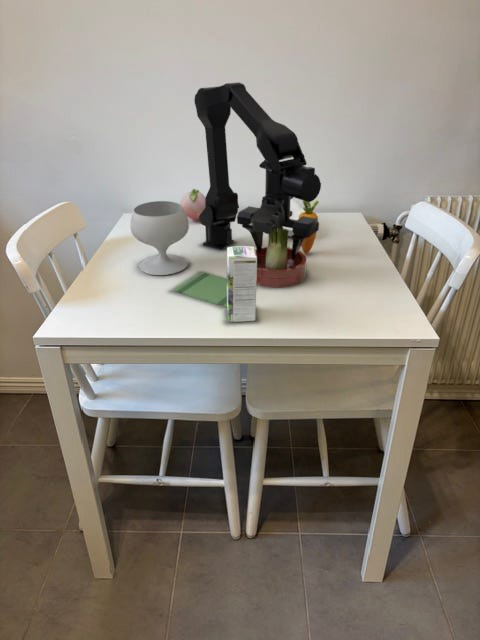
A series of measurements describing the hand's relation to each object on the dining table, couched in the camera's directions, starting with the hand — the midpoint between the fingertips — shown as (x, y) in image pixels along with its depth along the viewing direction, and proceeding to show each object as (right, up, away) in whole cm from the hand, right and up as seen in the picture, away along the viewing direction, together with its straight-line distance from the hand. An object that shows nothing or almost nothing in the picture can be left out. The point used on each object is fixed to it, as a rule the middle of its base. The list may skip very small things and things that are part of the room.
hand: (276, 255), depth 116 cm
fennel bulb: (0, -4, +2) cm, 5 cm away
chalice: (-28, -2, +7) cm, 29 cm away
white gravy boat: (+6, +13, +30) cm, 33 cm away
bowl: (0, -4, +3) cm, 5 cm away
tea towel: (-15, -8, -4) cm, 18 cm away
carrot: (+9, +2, +12) cm, 15 cm away
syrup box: (-8, -15, -14) cm, 22 cm away
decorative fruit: (-23, +16, +35) cm, 45 cm away
